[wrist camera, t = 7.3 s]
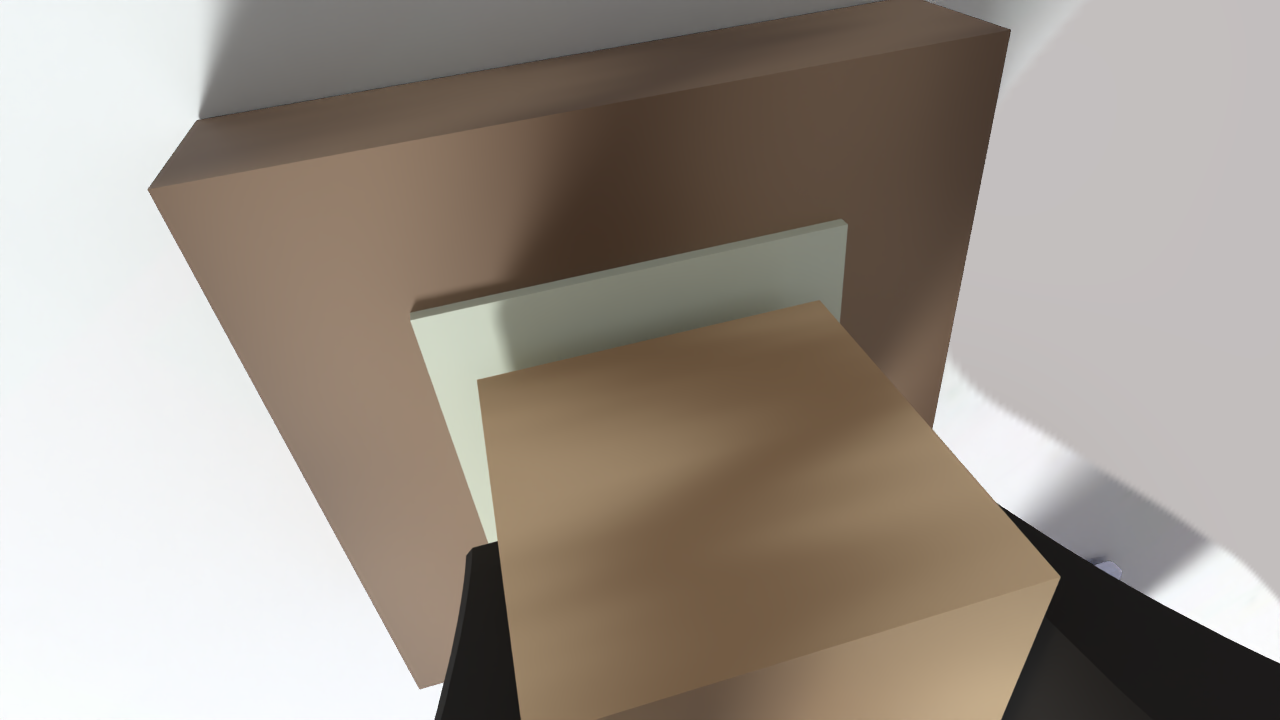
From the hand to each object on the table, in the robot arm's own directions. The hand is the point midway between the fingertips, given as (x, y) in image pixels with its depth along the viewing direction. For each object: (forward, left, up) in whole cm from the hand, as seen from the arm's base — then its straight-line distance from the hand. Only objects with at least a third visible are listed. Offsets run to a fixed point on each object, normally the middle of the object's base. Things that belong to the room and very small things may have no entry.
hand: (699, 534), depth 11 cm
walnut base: (0, 0, -5) cm, 5 cm away
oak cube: (0, 0, -2) cm, 2 cm away
